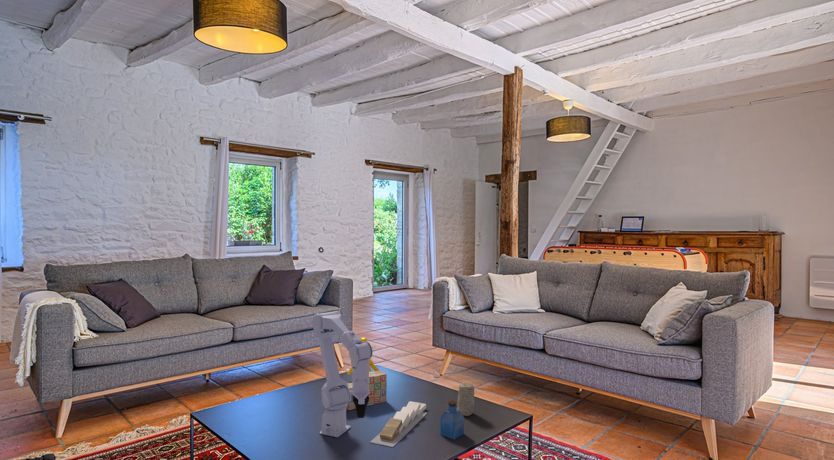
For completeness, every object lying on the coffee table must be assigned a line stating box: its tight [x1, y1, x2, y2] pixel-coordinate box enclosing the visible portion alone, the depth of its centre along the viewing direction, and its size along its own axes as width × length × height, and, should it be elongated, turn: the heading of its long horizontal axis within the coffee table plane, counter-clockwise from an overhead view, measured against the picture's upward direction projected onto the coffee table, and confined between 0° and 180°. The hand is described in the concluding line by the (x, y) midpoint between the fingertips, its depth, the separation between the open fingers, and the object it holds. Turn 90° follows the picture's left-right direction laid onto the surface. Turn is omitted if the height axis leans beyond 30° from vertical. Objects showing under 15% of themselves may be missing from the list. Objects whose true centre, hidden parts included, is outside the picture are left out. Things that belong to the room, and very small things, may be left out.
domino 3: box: [405, 400, 421, 422], centre depth 191 cm, size 2×5×9 cm
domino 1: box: [392, 411, 409, 434], centre depth 180 cm, size 2×5×9 cm
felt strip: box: [369, 411, 428, 448], centre depth 182 cm, size 32×9×1 cm, turn 157°
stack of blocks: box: [335, 370, 388, 412], centre depth 205 cm, size 21×6×12 cm, turn 124°
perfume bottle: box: [439, 400, 465, 440], centre depth 176 cm, size 6×6×12 cm
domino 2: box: [399, 406, 415, 428], centre depth 186 cm, size 2×5×9 cm
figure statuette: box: [346, 337, 381, 376], centre depth 233 cm, size 18×8×22 cm, turn 85°
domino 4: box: [416, 402, 427, 416], centre depth 197 cm, size 2×5×9 cm
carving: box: [456, 382, 475, 417], centre depth 195 cm, size 6×8×12 cm
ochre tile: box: [379, 417, 402, 441], centre depth 175 cm, size 2×5×9 cm
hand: (360, 417), depth 166 cm, fingers closed
